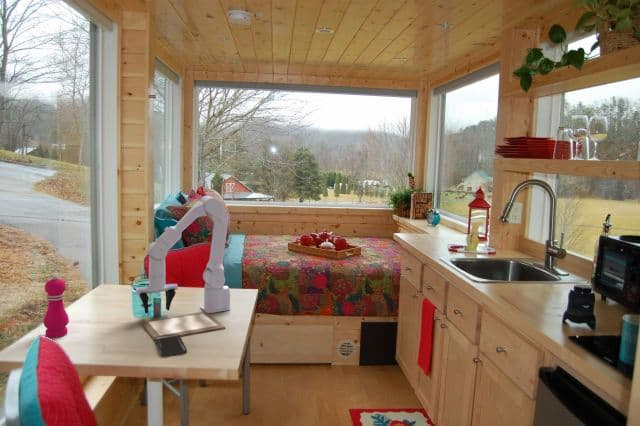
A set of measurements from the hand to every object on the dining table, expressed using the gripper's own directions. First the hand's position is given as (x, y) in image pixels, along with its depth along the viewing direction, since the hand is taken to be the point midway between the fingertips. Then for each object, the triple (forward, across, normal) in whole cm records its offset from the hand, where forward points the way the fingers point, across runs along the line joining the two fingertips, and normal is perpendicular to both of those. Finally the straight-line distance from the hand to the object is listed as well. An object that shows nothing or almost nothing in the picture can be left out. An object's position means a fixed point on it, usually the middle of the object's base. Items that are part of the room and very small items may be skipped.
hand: (157, 311), depth 179 cm
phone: (+2, +4, +29) cm, 29 cm away
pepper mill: (+2, +33, +3) cm, 33 cm away
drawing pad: (+2, -5, +14) cm, 15 cm away
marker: (+2, 0, 0) cm, 2 cm away
